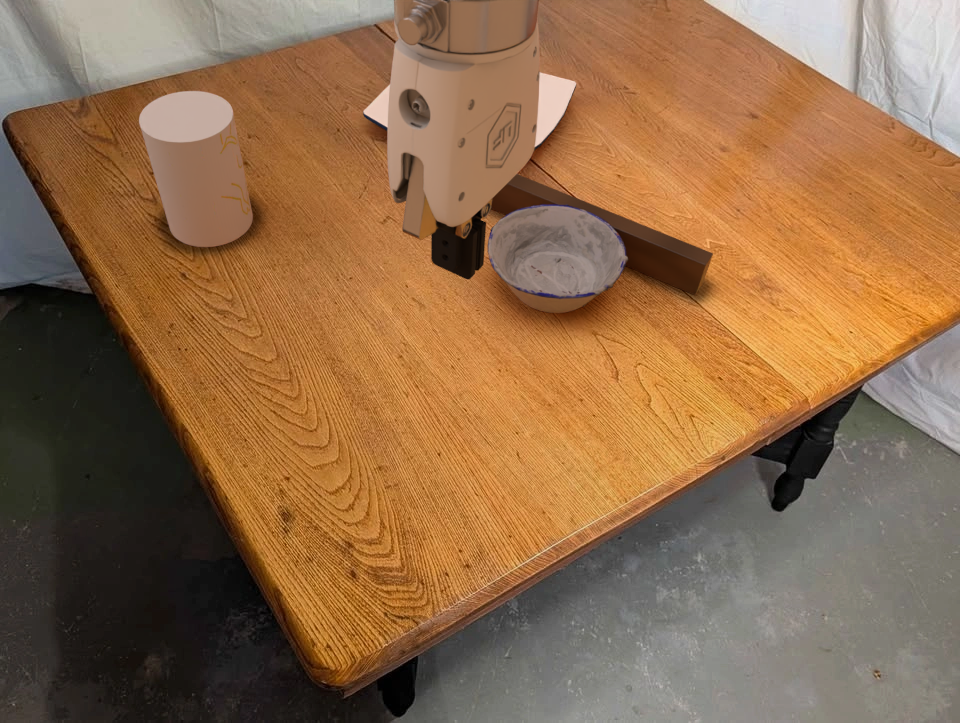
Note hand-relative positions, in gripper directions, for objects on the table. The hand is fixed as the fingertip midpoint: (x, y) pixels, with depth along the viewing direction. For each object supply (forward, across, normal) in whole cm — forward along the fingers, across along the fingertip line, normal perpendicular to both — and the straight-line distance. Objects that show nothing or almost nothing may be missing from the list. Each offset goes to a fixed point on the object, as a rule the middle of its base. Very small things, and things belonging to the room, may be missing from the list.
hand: (457, 265), depth 58 cm
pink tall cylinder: (+17, +7, +34) cm, 38 cm away
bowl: (+17, +19, +1) cm, 26 cm away
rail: (+17, +26, +1) cm, 31 cm away
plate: (+17, +38, +22) cm, 47 cm away
